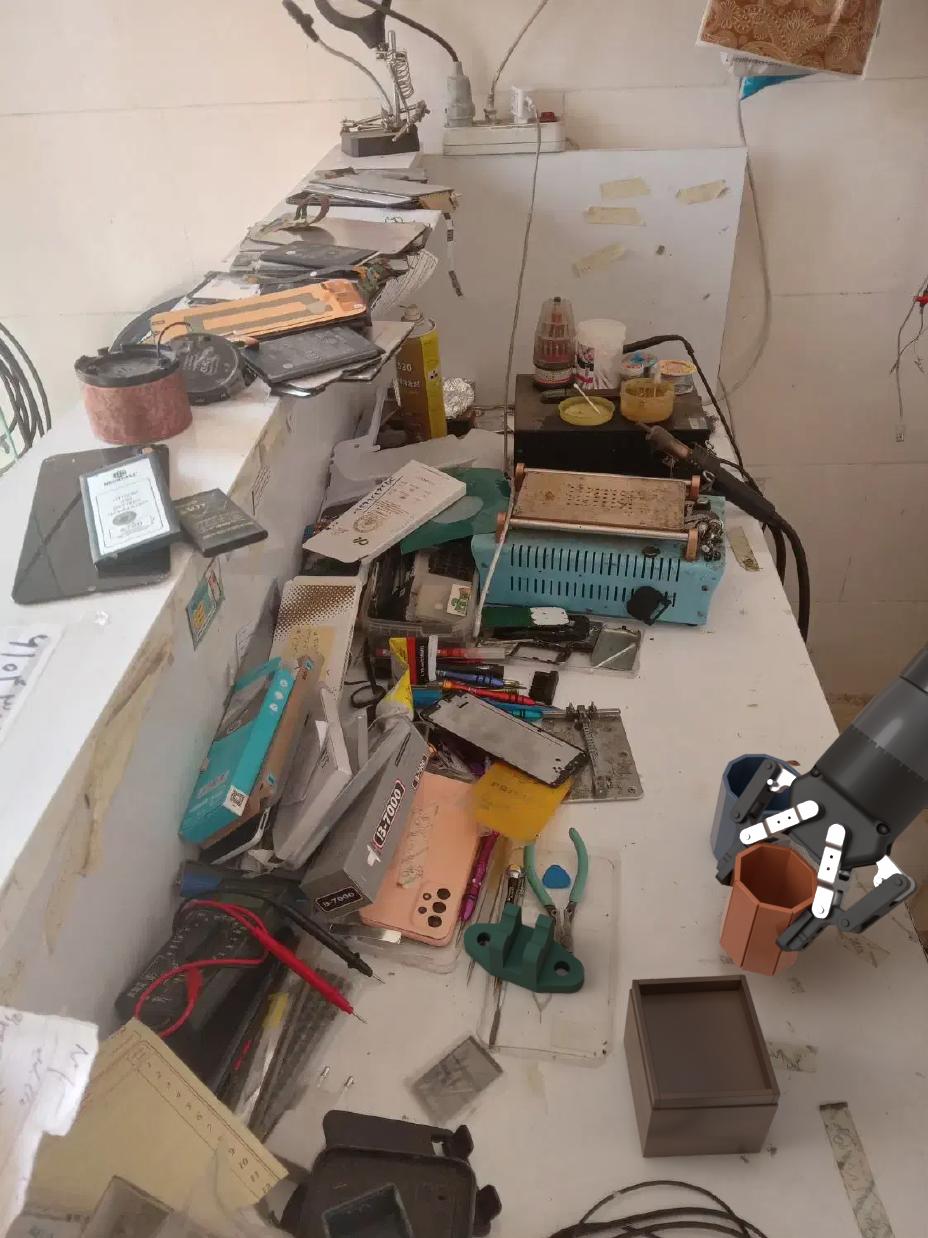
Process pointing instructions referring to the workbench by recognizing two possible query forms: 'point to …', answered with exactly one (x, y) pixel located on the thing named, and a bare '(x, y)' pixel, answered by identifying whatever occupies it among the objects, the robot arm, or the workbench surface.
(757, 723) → the workbench surface
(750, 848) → the terracotta cup
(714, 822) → the slate cup
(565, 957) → the mount
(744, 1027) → the box
